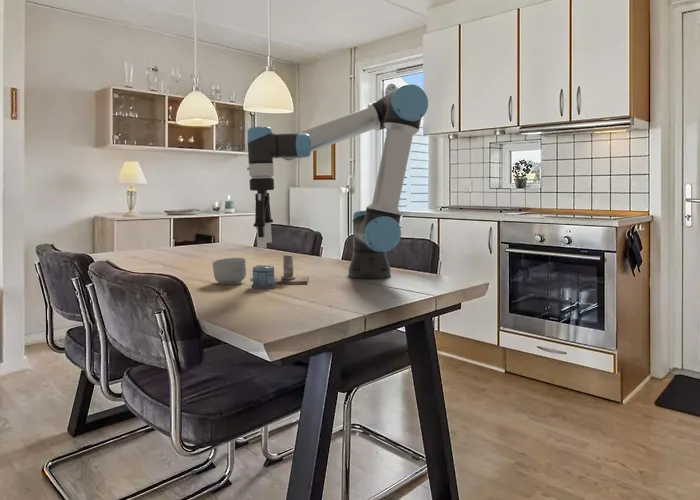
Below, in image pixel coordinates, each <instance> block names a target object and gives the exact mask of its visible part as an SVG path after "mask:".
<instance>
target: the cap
mask: <svg viewBox="0 0 700 500" xmlns="http://www.w3.org/2000/svg"><path fill="white" fill-rule="evenodd" d="M275 274H276V273H275V266H274V265H271V264H257V265H255V266H253V267H252V277H250V279H249V280H250V282H252V284H255V285H270V284H274V283H275V281H277V277H276V276H275Z"/></svg>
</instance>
